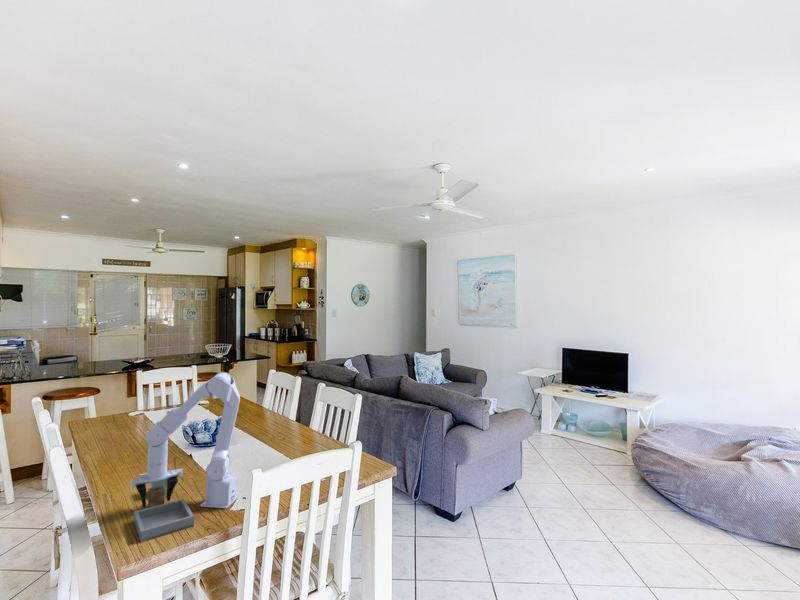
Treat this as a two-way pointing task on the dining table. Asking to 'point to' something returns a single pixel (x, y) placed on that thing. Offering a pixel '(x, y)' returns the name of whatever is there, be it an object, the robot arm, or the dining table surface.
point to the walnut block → (156, 496)
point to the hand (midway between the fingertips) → (156, 502)
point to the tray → (163, 519)
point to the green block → (160, 484)
